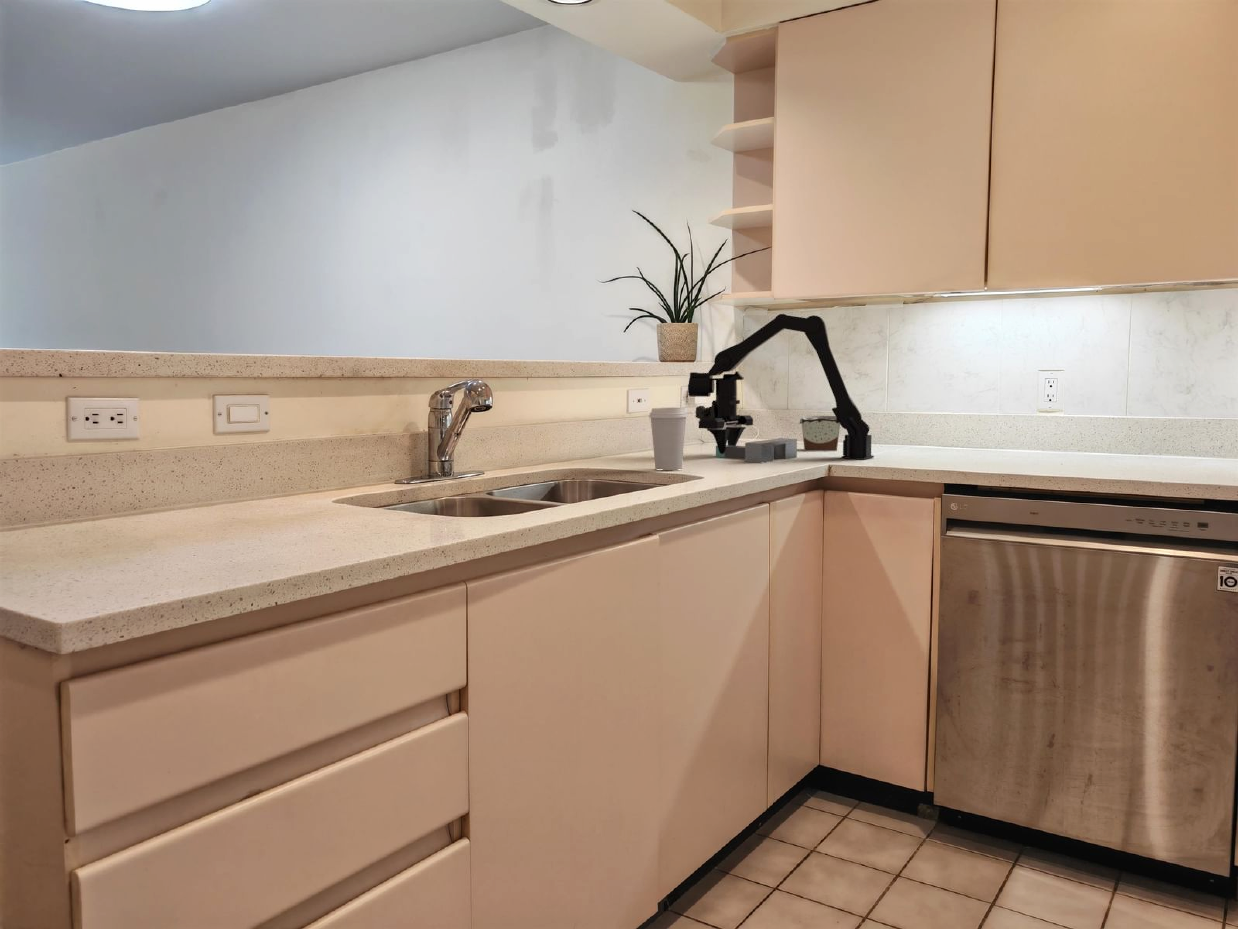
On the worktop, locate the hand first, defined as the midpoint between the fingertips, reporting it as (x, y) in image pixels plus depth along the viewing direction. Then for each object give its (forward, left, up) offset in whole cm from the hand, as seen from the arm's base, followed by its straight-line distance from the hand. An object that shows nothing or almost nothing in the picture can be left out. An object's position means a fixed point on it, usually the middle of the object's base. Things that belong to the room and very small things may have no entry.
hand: (726, 452), depth 251 cm
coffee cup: (-6, +34, -1) cm, 35 cm away
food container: (-12, -31, -1) cm, 33 cm away
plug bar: (-4, 0, -1) cm, 4 cm away
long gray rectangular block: (-15, 0, -1) cm, 15 cm away
